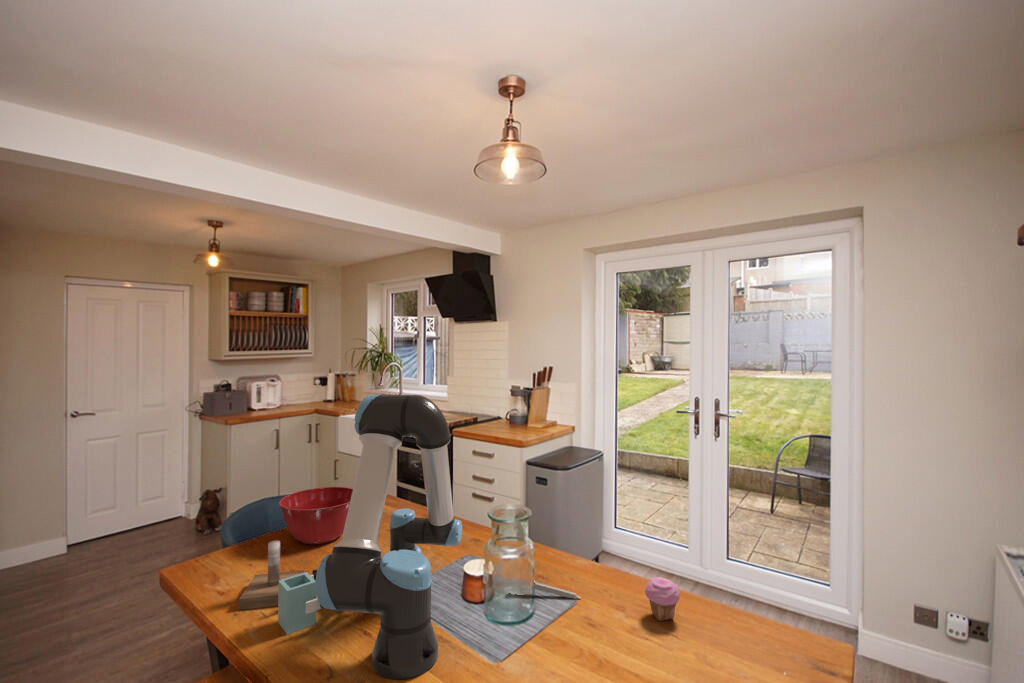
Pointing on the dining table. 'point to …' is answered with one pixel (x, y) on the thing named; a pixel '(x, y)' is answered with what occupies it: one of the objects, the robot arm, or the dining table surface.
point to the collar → (296, 602)
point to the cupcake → (662, 597)
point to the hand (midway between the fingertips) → (297, 597)
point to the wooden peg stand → (266, 582)
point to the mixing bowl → (317, 513)
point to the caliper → (555, 591)
